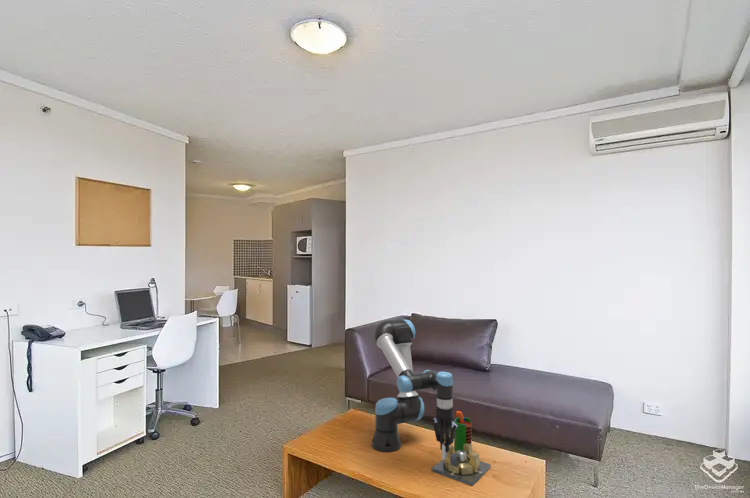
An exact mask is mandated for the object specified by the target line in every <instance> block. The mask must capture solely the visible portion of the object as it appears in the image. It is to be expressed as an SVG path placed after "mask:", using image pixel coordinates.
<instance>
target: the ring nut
mask: <svg viewBox="0 0 750 498" xmlns="http://www.w3.org/2000/svg"><path fill="white" fill-rule="evenodd" d="M472 446H473V444H472V443H471V444H468V443H465V444H464V445H463V450H464V451H466V462H467V463H459V455H458V454H457V451H454V444H453V445H452V444H451V445H449V451H448V458H446V459H445V460H444V459H442V460H443V464H444V466H445V468H446V469H448V471H451V472H453V473H456V474H460V473H461V474H462V475H467V474H473V473H476V472H477V471H478V470H479V469H480V461H481V460H480V455H479V453H478V452H474V451H473V447H472Z"/></svg>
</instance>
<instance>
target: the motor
mask: <svg viewBox="0 0 750 498" xmlns="http://www.w3.org/2000/svg"><path fill="white" fill-rule="evenodd" d="M453 420H454V423H455V424H458V427H457V429H456V432H455V437H454V441H453V451H457V450H463V445H464V444H465V443H468V444H471V445H472V436H473V435H472V423H471V418H469V417H465V416H464V415H463V412H462V411H461V410H460V411H459V410H457V411H456V412H455V419H453Z"/></svg>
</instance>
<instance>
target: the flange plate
mask: <svg viewBox="0 0 750 498" xmlns="http://www.w3.org/2000/svg"><path fill="white" fill-rule="evenodd" d="M457 454H458V455H459V463H467V462H466V451H464V450H457ZM491 467H492V466H491V464H490V463H488V462H485V461H481V460H480V469H479V470H478V471H477V472H476V473H473V474H467V475H462V474H461V473H460V474H456V473H453V472H451V471H448V469H446V468H445V466H444V464H443V459H441V460H440V461H438V463H437V464H435V465H434V466H433V467H431V472H432V473H436V474H438V475H442V476H443V477H447V478H449V479H451V480H455V481H456V482H460V483H462V484H466V485H468V486H470V487H473V486H474V485H475V484H476V483H477V482H478V481H479V480H480V479H481V478H482V477H483V476H484V475H485V474H487V472H488V471H489V469H491Z"/></svg>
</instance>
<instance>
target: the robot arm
mask: <svg viewBox="0 0 750 498" xmlns="http://www.w3.org/2000/svg"><path fill="white" fill-rule="evenodd" d="M373 338H374V342H375V344H376V346H377V347H378V348H379V349H381V351H382V352H383V354H384V356H385V358H386V360H387V361H388V364H389V365H390V367H391V369H392V370H393V372H394V373H395V375H396V377H397V379H396V386H397V389H398V391H399V393H398V394H397V396H396V397H397V398H396V397H384V398H381V399H378V401H377V402H376V403H375V407H374V408H375V410H374V413H375V417H374V418H375V420H374V421H375V423H374V425H375V427H374V429H375V431H374V433H373V438H372V441H371V446H372V449H374V450H376V451H379V452H384V453H385V452H386V453H387V452H389V453H390V452H395V451H398V450H399V449H400V448H401V447H402V440H401V439H400V438H401V437H400V434H399V430H398V428H399V427H398V425H401V424H405V423H410V422H416V421H419V420H421V419H422V418H423V416H424V414H425V403H424V400H423V398H422V397H420V396H419V393H418V392H417V391H424V390H429V389H430V390H431V389H432V390H433V391H435V392H436V410H435V411H436V416H435V417H434V418H432V419H431V422H432V425H433V430H434V434H435V440H436V442H439V443H440V445H439V447H440V451H441V460H443V459H444V460H445V459H446V458H448V451H449V445H452V444H454V437H455V432H456V429H457V427H458V424H455V423H454V420H455V419H454V409H453V407H454V398H453V395H454V392H453V391H454V381H453V374H452V373H451V372H449V371H448V372H447V371H438V372H436V371H434V370H430V369H425V370H424V371H423V372H421V373H420V372H419V373H414V369H413V360H412V352H411V350H412V349H411V346H412V344H413V340H414V339H415V338H416V329H415V325H414V324H413V323H412V321H411V320H409V319H394V320H384V321H381V322H379V323H378V325H376V327H375V329H374V331H373ZM450 429H451V431H450Z"/></svg>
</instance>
